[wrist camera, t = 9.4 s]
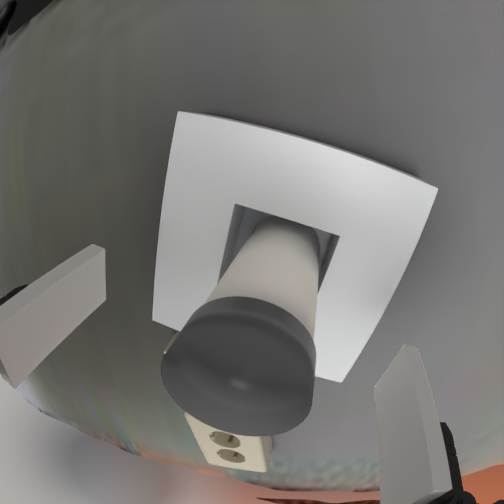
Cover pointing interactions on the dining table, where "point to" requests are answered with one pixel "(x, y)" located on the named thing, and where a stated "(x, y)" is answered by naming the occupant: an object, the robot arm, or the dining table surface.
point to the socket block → (292, 208)
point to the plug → (253, 337)
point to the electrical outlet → (230, 444)
